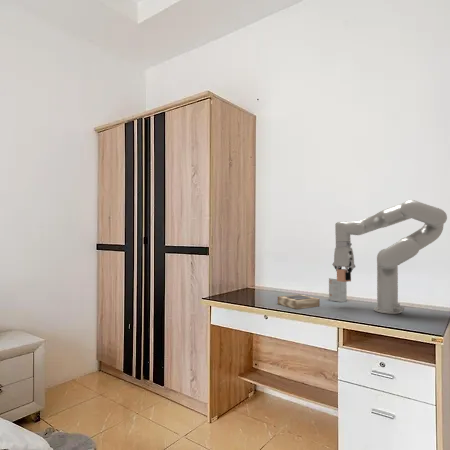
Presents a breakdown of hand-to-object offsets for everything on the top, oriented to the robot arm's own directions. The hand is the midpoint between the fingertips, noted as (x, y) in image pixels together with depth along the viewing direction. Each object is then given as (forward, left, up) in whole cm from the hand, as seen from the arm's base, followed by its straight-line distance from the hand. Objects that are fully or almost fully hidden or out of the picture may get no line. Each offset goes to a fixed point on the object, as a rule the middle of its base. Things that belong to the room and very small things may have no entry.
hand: (343, 279), depth 191 cm
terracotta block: (0, 0, -1) cm, 1 cm away
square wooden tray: (+17, +16, -15) cm, 28 cm away
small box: (+16, -13, -15) cm, 26 cm away
